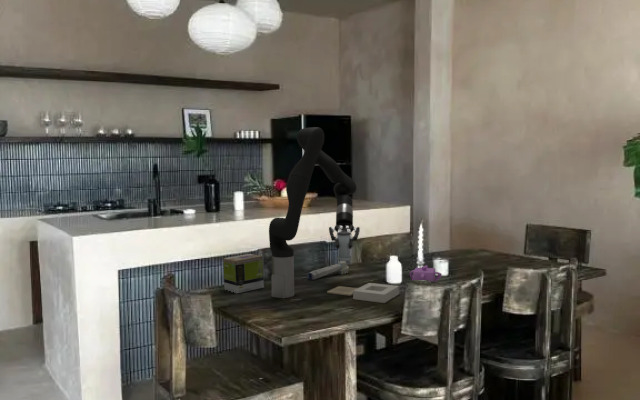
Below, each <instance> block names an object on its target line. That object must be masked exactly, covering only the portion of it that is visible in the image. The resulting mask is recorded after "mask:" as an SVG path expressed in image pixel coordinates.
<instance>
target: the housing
mask: <svg viewBox="0 0 640 400" xmlns="http://www.w3.org/2000/svg"><path fill="white" fill-rule="evenodd" d="M357 288H358V289H356V290H354V291H353V295H352V296H353V297H352V299H353V300H356V301H357V300H359V301H365V302H371V303H372V302H373V303H374V302H375V303H381V304H385V303H388V302H389V301H390V300H392V299H395V297H397V296H398V295H400V286H399V285H394V284H393V285H391V284H385V283H383V284H382V283H374V282H368V283H366V284H363V285H362V286H359V287H357Z"/></svg>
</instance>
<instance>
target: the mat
mask: <svg viewBox="0 0 640 400" xmlns="http://www.w3.org/2000/svg"><path fill="white" fill-rule="evenodd" d="M358 288H359V287H349V286H343V285H342V286H341V285H338V286H336V287H334V288H331V289H329V290H327V291H326V292H327V294H332V295H333V294H334V295H342V296H349V297H350V296H353V291H354V290H356V289H358Z"/></svg>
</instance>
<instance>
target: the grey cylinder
mask: <svg viewBox="0 0 640 400" xmlns="http://www.w3.org/2000/svg"><path fill="white" fill-rule="evenodd" d="M349 269H350V267H349V265H348V264H347V261H338V263H336V264H332V265H328V266H325V267H323V268H319V269H315V270H314V269H313V270H312V271H310V272H308V273H307V274H306V276H307V277H306V278H307V280H308V281H315V280H318V279H320V278H323V277H325V276H326V275H330V274H332V273H333V272H337V274H340V275H344V274H346V273H347V274H348V273H349Z"/></svg>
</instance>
